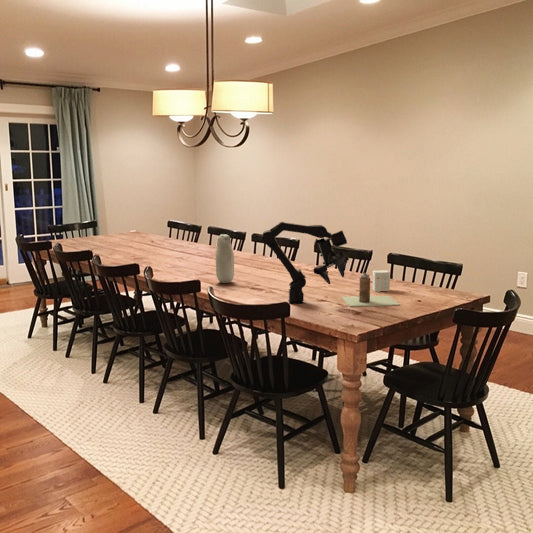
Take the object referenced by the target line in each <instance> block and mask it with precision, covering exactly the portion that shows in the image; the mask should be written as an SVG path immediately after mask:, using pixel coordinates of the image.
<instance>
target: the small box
mask: <svg viewBox="0 0 533 533" xmlns="http://www.w3.org/2000/svg"><path fill="white" fill-rule="evenodd" d="M390 278H391V272H390V270H387V269H385V270H372V291H373V290H374V291H375V292H374V291H373V292H374V293H381V292H380V291H389V292H390V290H391V288H390V287H391V286H390V285H391V283H390V282H391V279H390Z"/></svg>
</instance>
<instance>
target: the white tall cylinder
mask: <svg viewBox="0 0 533 533" xmlns="http://www.w3.org/2000/svg"><path fill="white" fill-rule="evenodd" d="M216 242H217V245H216V246H217V247H216V252H215V257H214V258H215V274H216V276H215V277H216V278H217V280H218V282H219V283H221V284H229V283H231V282H232V281H233V280H234V277H235V252H234V250H233V247H232V240H231V236H230V235H228V234H225V233H221V234H220V235H218V237H217V241H216Z"/></svg>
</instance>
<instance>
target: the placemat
mask: <svg viewBox="0 0 533 533" xmlns="http://www.w3.org/2000/svg"><path fill="white" fill-rule="evenodd" d="M341 299H342V300H343V301H344V302H345V303H346V305H347V306H348V307H349V308H354V307H355V308H359V307H361V308H362V307H364V308H365V307H389V306H390V307H393V305H398V306H400V303H399V302H397V301H396V300H395V299H394V298H393V297H391V296H390V295H370V302H369V303H361V302H359V296H341Z"/></svg>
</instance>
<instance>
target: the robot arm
mask: <svg viewBox="0 0 533 533" xmlns="http://www.w3.org/2000/svg"><path fill="white" fill-rule="evenodd" d="M286 231H287V232H292V233H298V234H299V233H300V234H306V235H310V236H311V237H312V236H313V237H315V240H314V242H313V244H314V246H316V245H318V248H319V250H320V255H319V256H320V257H322V259H323V262H322V264H323V265H321V264H320V265H317V266H315V267H313V271H312V272H313V274H315V275H318V276H320V277H321V278H322V279H323V280H324V281H325V282H326V283H327V284H328V285H331V279H330V278H329V277H330V276H329V271H328V268H330V267H333V266H334V265H335V266H336V268H337V270H338V272H339V274H340V276H341V277H342V278H345V266H346V264H347V263H348V261H349V260H350V258H349V256H348V255H347V254H346V252H345V251H341V252H339V253H337V252H336V251H335V250H334V249H333V247H335V248H338V247H342V246H344V245H347V244H348V242H347V238H346V236H345V234H344V231H343V230H339V231H337V232H335V233H331V232H329V231H328V230H327V228H326V226H324V225H322V224H312V225H311V224H310V225H306V224H305V225H304V224H298V223H289V222H284V221H280V222H278V224H276V225H275V226H273V227H271V229H269V230H264V231H263V232H262V234H261V240H262V242H263V243H264V244H265V245H266V246H268V248H269V249H271V250H272V251H273V253H274V254H275V256H276V257H277V258H278V260H279V261H280V262H281V264H282V265H283V266H284V268H285V269H286V270H287V272H288V274H289V275H290V278H291V279H292V281H291V282H290V283H289V285H288V286H289V289H288V303H289V305H293V304H292V303H296V304H304V301H305V300H304V297H305V296H304V295H305V294H304V292H303V288H304V287H305V286H306V284H307V280H306V278H307V277H306V274H304V273H303V272H302V270H301V268H299V269H297V268H296V267H295V265H294V264H293V263H292V262H291V260H290V259H289V257H288V256H287V255H286V253H285V252H284V251H283V249H282V248H281V247H280V245H279V244H278V241H277V239H276V238H277V237H278V236H279V235H280V234H281V233H282V232H286ZM318 238H319V239H318Z"/></svg>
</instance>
